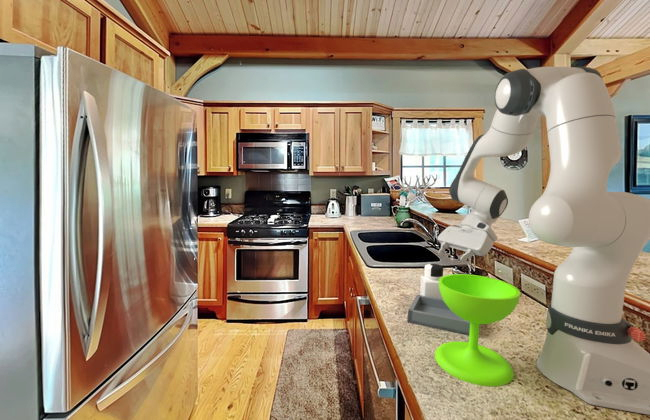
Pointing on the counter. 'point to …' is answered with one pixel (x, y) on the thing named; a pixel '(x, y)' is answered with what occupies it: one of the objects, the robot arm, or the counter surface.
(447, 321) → the parts tray
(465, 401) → the counter surface
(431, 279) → the medicine bottle
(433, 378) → the counter surface
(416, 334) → the counter surface
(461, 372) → the wineglass
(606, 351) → the robot arm
